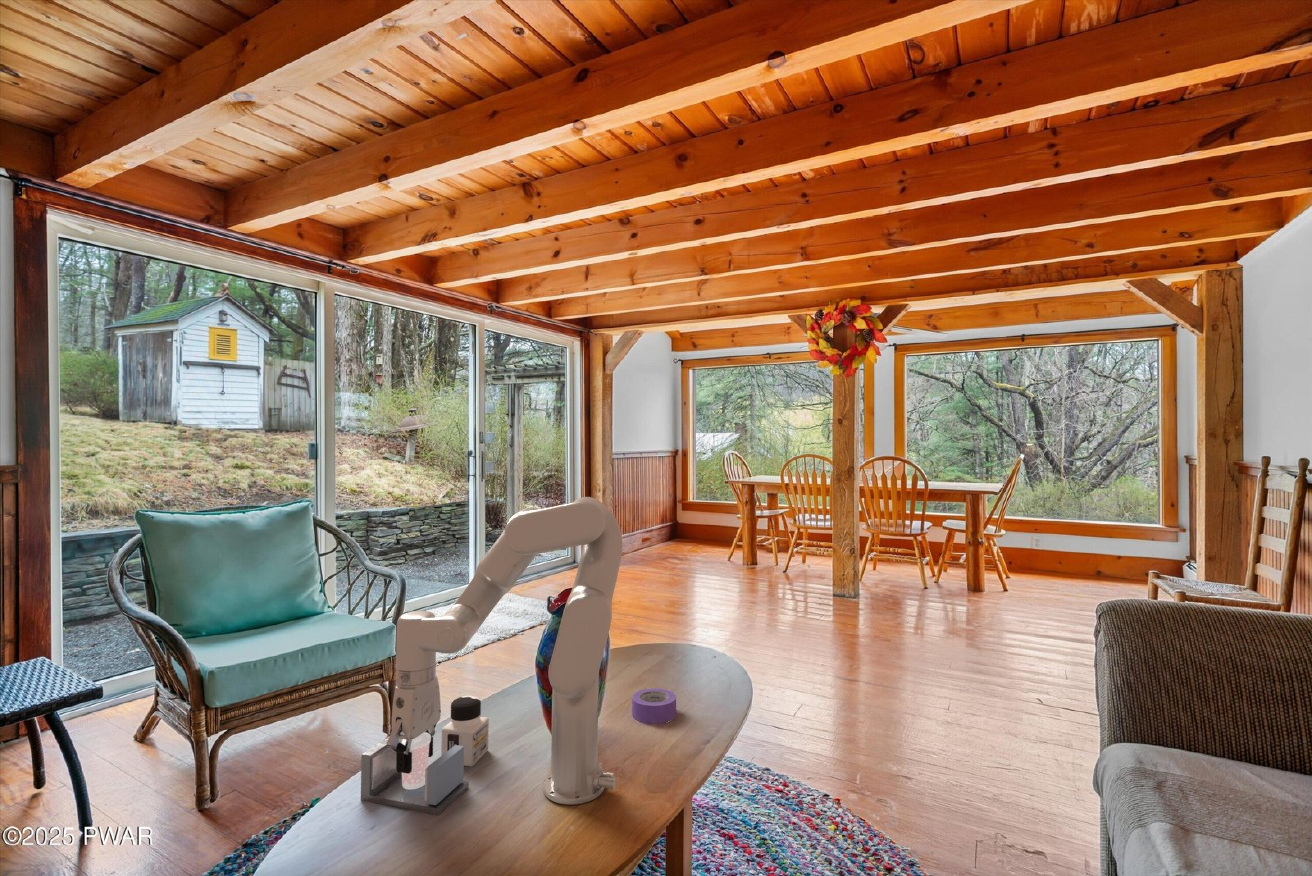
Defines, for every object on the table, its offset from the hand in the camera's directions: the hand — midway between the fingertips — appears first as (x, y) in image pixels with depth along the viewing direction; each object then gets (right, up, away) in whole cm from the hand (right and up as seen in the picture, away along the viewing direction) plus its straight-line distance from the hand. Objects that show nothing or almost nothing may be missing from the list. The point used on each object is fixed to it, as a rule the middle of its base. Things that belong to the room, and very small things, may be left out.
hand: (415, 762), depth 124 cm
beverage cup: (0, -4, 0) cm, 4 cm away
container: (+6, -7, +15) cm, 17 cm away
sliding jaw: (+7, -5, -2) cm, 8 cm away
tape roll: (+49, -8, +38) cm, 62 cm away
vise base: (0, -6, 0) cm, 6 cm away
